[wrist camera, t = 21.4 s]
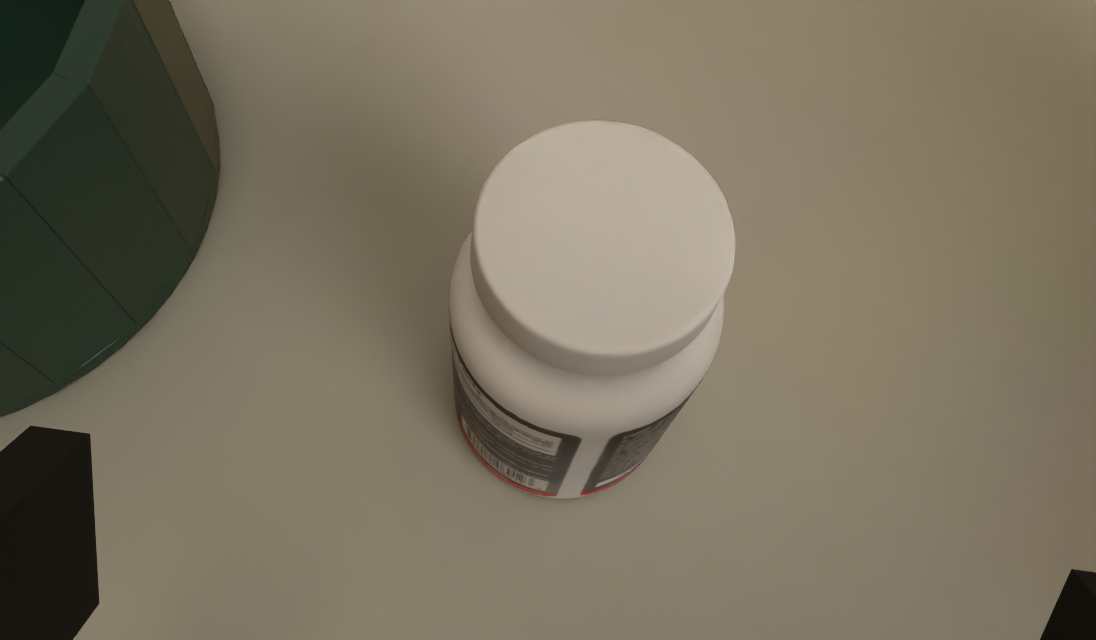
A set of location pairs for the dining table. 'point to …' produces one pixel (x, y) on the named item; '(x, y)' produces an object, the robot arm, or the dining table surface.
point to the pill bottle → (586, 304)
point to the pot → (94, 181)
